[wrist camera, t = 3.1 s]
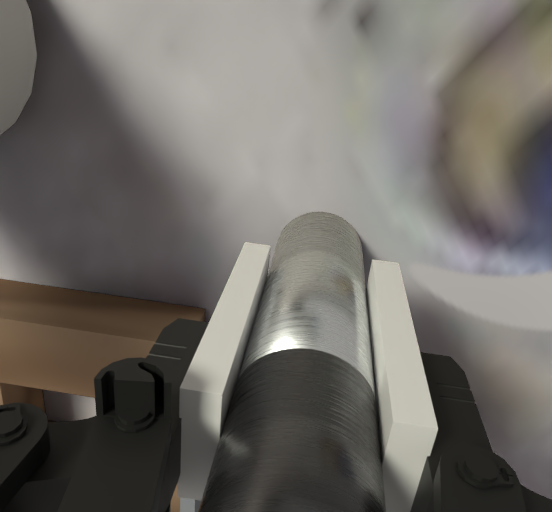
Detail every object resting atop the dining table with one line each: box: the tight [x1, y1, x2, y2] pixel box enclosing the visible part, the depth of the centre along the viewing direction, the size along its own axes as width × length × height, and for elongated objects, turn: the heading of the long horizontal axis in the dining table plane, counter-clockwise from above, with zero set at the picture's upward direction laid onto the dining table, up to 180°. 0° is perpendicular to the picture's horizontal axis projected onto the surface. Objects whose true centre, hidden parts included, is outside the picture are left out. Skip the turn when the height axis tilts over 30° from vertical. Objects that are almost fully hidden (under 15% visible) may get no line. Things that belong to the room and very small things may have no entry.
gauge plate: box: [0, 279, 205, 512], centre depth 21 cm, size 10×10×2 cm
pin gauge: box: [198, 212, 386, 512], centre depth 11 cm, size 3×3×14 cm
